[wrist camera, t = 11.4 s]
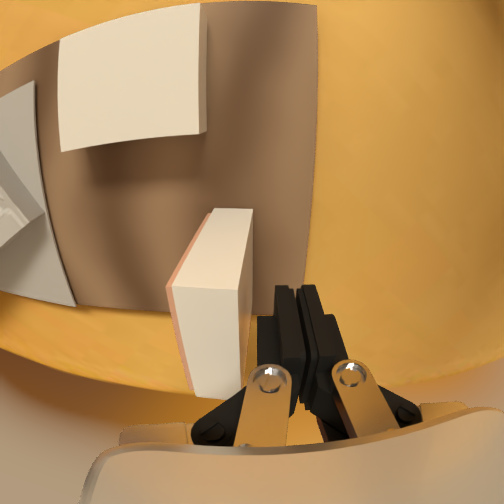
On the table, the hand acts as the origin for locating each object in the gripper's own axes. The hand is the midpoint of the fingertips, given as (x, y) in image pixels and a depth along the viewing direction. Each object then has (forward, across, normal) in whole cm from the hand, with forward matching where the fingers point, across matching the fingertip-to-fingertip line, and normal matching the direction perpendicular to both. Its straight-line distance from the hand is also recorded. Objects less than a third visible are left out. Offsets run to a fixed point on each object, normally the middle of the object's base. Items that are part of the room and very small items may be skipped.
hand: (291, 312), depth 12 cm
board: (+6, +9, -5) cm, 12 cm away
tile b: (+4, +3, 0) cm, 5 cm away
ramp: (+5, +28, -4) cm, 29 cm away
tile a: (+3, +4, -10) cm, 11 cm away
